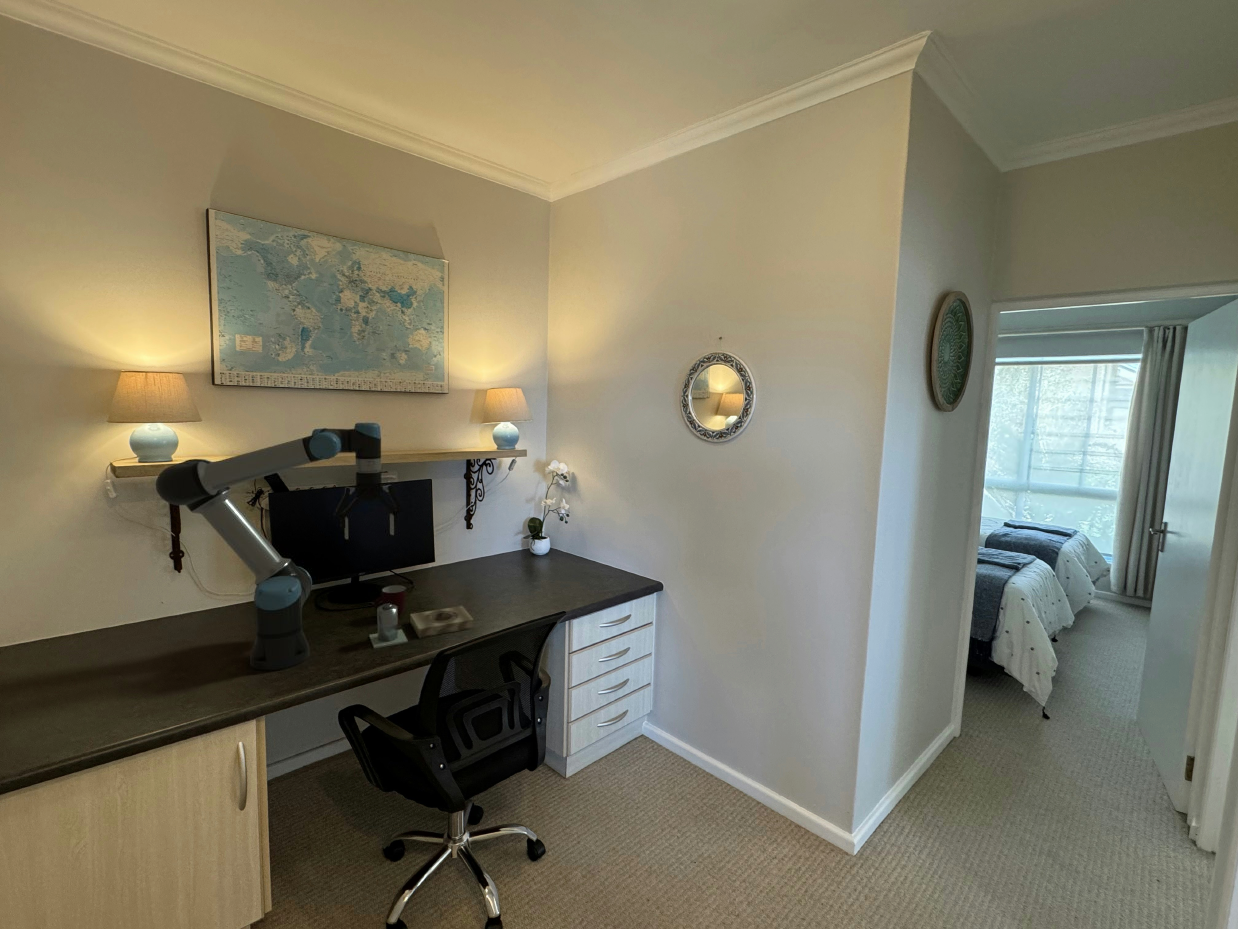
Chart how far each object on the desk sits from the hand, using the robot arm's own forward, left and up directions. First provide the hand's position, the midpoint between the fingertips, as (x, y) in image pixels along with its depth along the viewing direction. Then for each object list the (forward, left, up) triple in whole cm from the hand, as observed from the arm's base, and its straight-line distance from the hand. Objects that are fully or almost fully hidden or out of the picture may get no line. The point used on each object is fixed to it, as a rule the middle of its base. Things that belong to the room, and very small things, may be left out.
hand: (369, 536), depth 186 cm
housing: (+22, -4, -33) cm, 40 cm away
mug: (+8, +11, -33) cm, 36 cm away
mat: (+4, -8, -33) cm, 34 cm away
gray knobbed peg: (+4, -8, -32) cm, 33 cm away
